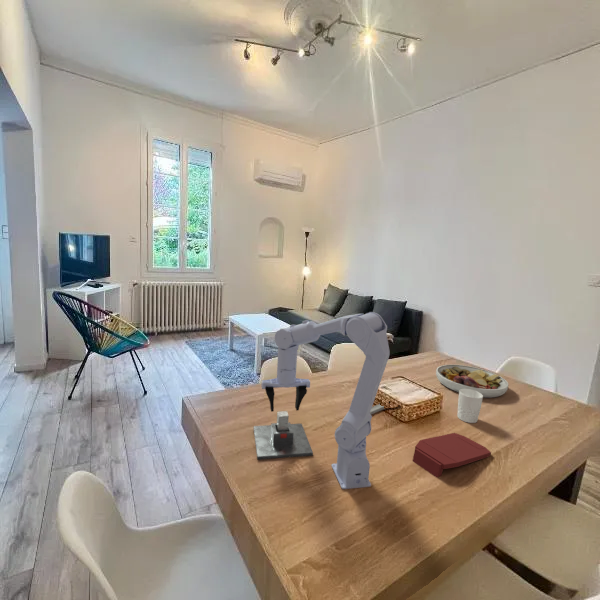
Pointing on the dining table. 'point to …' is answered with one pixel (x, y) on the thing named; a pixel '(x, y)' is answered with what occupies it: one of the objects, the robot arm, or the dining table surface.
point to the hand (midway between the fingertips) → (284, 409)
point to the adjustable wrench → (376, 409)
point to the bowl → (472, 380)
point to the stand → (281, 442)
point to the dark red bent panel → (447, 452)
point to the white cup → (469, 405)
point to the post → (282, 421)
